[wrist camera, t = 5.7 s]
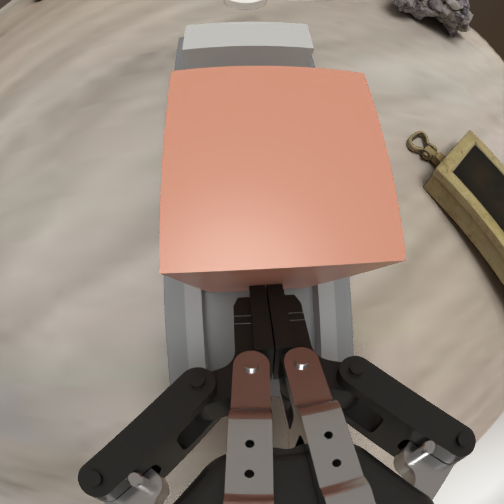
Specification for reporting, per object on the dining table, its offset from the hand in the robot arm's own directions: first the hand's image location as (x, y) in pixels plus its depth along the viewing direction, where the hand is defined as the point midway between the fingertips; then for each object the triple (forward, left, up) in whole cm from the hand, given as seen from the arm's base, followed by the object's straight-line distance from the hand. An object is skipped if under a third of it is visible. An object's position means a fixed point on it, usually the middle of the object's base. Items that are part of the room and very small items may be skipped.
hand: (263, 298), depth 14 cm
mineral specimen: (+5, +44, -7) cm, 44 cm away
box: (+17, +15, -7) cm, 23 cm away
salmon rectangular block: (-2, +3, -5) cm, 6 cm away
